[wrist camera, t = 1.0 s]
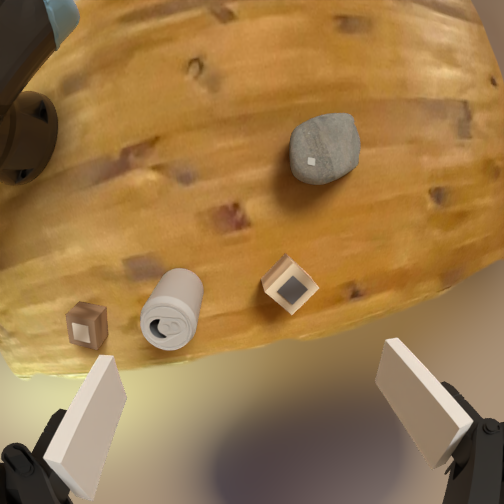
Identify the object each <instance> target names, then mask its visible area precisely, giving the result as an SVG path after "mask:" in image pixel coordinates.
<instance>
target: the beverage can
mask: <svg viewBox="0 0 504 504" xmlns="http://www.w3.org/2000/svg"><path fill="white" fill-rule="evenodd" d="M202 298H203V285H202V282H201V280H200V279H199V277H198V276H197V275H196V274H194V273H193V272H191V271H190V270H187V269H183V268H176V269H172V270H170V271H168V272H167V273H165V274H164V275H163V277H162V278H161V280H160V281H159V283H158V284H157V286H156V287H155V289H154V291H153V292H152V294H151V295H150V297H149V299H148V300H147V302H146V303H145V305H144V307H143V309H142V311H141V316H140V321H141V330H142V333H143V335H144V337H145V338H146V339H147V340H148V341H149V342H150V343H151V344H152V345H154V346H155V347H157V348H160V349H163V350H176V349H179V348H182V347H183V346H185V345H186V344H187V343H188V342H189V341H190V340H191V339H192V338H193V336H194V334H195V332H196V328H197V322H198V317H199V312H200V307H201V302H202Z"/></svg>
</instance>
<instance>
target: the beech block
mask: <svg viewBox="0 0 504 504" xmlns="http://www.w3.org/2000/svg"><path fill="white" fill-rule="evenodd" d="M261 281H262V285H263V288H264V291H265V293H267V294H268V295H269V296H270V297H271V298H273V299H274V300H275V301H276V302H277V303H278V304H280V305H281V306H282V307H283V308H284V309H285V310H287V311H288V312H289V313H290V314H291V315H293V314H294V313H295V312H296V311H297V310H298V309H299V308H300V307H301V306H302V305H303V304H304V303H305V302H306V301H307V300H308V299H309V298H310V297H311V296H312V295H313V294H314V293H315V292H316V291H317V290H318V289H319V287H318V286H317V284H316V283H315V282H314V281H313V279H312V278H311V277H310V276H309V275H308V274H307V273H306V272H305V271H304V270H303V269H302V268H301V267H300V266H299V265H298V264H297V263H296V262H295V261H294V260H293V259H291V258H290V257H289V256H288V255H287V254H286V253H285V254H284V255H283V256H282V257H281V258H280V259H279V260H278V261H277V263H276V264H275V265H274V266H273V267H272V268H271V269H270V270H269V271H268V272H267V273H266V274H265V275H264V276H263V277H262V278H261Z"/></svg>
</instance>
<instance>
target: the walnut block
mask: <svg viewBox="0 0 504 504" xmlns="http://www.w3.org/2000/svg"><path fill="white" fill-rule="evenodd" d="M66 321H67V328H68V335H69V341H70V343H72V344H75V345H79V346H83V347H87V348H91V349H95V350H98V349H99V347H100V346H101V344H102V343H103V341H104V340H105V338H106V337H107V336H108V323H107V308H106V307H105V306H100V305H95V304H90V303H85V302H80V301H79V302H78V303H77V304H76V305H75V306H74V307H73V308H72V309H71V310H70V311H69V312H68V313H67V314H66Z"/></svg>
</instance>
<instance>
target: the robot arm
mask: <svg viewBox="0 0 504 504" xmlns="http://www.w3.org/2000/svg"><path fill="white" fill-rule="evenodd" d="M79 18H80V15H79V11H78V8H77V6H76V4H75V2H74V1H73V0H0V182H2V183H4V184H8V185H19V184H25V183H28V182H30V181H32V180H33V179H34V178H36V177H37V176H38V175H39V174H40V173H41V172H42V170H43V169H44V168H45V166H46V165H47V163H48V161H49V159H50V157H51V155H52V152H53V150H54V146H55V143H56V138H57V131H58V120H57V114H56V110H55V107H54V105H53V103H52V102H51V101H50V99H49V98H47V97H46V96H44V95H42V94H40V93H37V92H33V91H25V92H22V90H23V89H24V87H25V86H26V85H27V84H28V82H29V81H30V80H31V78H32V77H33V76H34V75H35V73H36V72H37V71H38V70H39V68H40V67H41V66H42V65H43V64H44V63H45V61H46V60H47V59H48V58H49V57H50V56H51V55H52V53H53V52H54V51H57V50H58V49H59V47H60V44H61V43H62V42H63V41H64V40H65V39H66V38H67V37H68V36H69V34H70V33H71V32H72V31H73V30H74V29H75V28H76V26H77V25H78V23H79ZM375 383H376V384H377V386H378V387H379V389H380V390H381V391H382V393H383V395H384V396H385V397H386V399H387V401H388V402H389V404H390V405H391V407H392V408H393V410H394V412H395V413H396V415H397V416H398V418H399V419H400V421H401V422H402V424H403V425H404V427H405V429H406V430H407V432H408V433H409V435H410V436H411V438H412V439H413V441H414V443H415V444H416V446H417V447H418V449H419V451H420V452H421V454H422V455H423V457H424V458H425V460H426V462H427V463H428V465H429V466H430V468H431V470H433V469H435V468H437V467H439V466H441V465H443V464H445V463H446V462H447V460H448V459H449V458H450V456H451V455H452V457H453V458H454V461H453V462H452V463H451V465H450V466H449V467H448V468H447V470H446V472H445V474H447V473H448V472H449V471H450V474H449V479H448V484H447V488H446V492H445V496H444V500H443V503H442V504H504V422H501V423H499V422H498V421H496V420H495V419H492V418H485V419H483V418H482V417H481V416H480V415H479V414H478V413H477V412H476V411H475V410H474V409H473V407H472V406H471V405H470V404H469V403H468V402H467V401H466V400H464V397H463V396H462V395H460V394H459V392H458V391H457V390H456V389H455V388H454V387H453V386H452V385H450V384H448V383H446V382H442V383H439V381H438V380H437V379H436V378H435V377H434V376H433V375H432V374H431V373H430V372H429V370H428V369H427V368H426V367H425V366H424V365H423V364H422V363H421V362H420V361H419V360H418V359H417V358H416V357H415V355H414V354H413V353H412V352H411V351H410V350H409V349H408V348H407V347H406V346H405V345H404V344H403V343H402V342H401V341H400V340H399V339H398V338H393V339H388V340H385V343H384V347H383V352H382V356H381V360H380V364H379V368H378V372H377V376H376V379H375ZM126 400H127V396H126V393H125V390H124V388H123V385H122V382H121V379H120V376H119V372H118V369H117V366H116V363H115V359H114V356H110V355H99V357H98V358H97V360H96V361H95V363H94V365H93V366H92V368H91V370H90V372H89V373H88V375H87V377H86V378H85V380H84V382H83V384H82V385H81V387H80V389H79V391H78V392H77V394H76V396H75V398H74V399H73V401H72V403H71V405H70V407H69V408H68V410H63V409H59V410H58V411H57V412H56V413H55V414H53V415H52V417H51V418H50V420H49V422H48V423H47V426H46V427H45V429H44V432H43V433H42V434H41V436H40V438H39V440H38V442H37V444H36V446H35V447H34V449H33V451H32V453H31V452H30V451H29V450H28V448H27V447H26V446H24V445H23V444H21V443H12V444H10V445H8V446H7V447H5V448H4V450H3V452H2V454H1V459H2V461H3V462H4V463H0V504H73V503H72V501H71V499H70V498H69V496H68V494H69V491H70V490H71V491H72V492H73V493H74V494H75V496H77V497H80V498H83V499H87V500H90V501H93V499H94V496H95V493H96V489H97V486H98V482H99V479H100V476H101V473H102V469H103V466H104V463H105V460H106V457H107V453H108V450H109V448H110V445H111V441H112V439H113V436H114V433H115V430H116V427H117V424H118V421H119V419H120V416H121V413H122V410H123V408H124V405H125V402H126ZM450 469H451V470H450Z"/></svg>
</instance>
